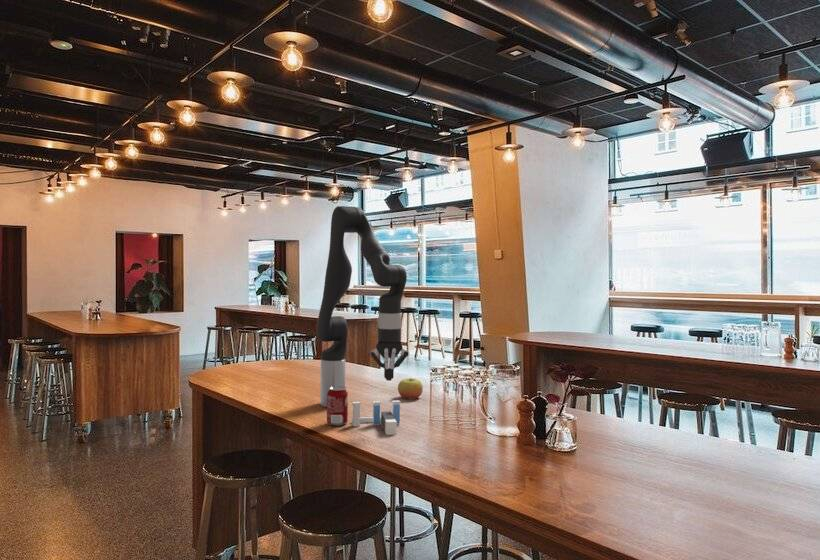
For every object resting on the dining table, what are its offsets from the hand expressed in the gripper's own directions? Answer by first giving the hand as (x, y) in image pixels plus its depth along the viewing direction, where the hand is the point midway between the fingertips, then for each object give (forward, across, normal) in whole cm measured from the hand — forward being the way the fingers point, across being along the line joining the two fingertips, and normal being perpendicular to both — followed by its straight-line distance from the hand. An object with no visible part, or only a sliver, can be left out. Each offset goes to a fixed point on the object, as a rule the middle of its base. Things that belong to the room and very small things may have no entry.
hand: (388, 380), depth 182 cm
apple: (+16, -15, -40) cm, 46 cm away
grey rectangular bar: (+16, 0, +1) cm, 16 cm away
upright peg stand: (+16, +3, -6) cm, 17 cm away
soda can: (+16, +16, -7) cm, 24 cm away
